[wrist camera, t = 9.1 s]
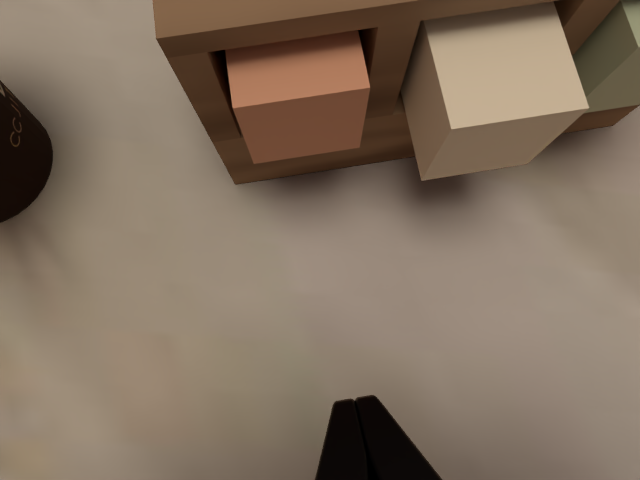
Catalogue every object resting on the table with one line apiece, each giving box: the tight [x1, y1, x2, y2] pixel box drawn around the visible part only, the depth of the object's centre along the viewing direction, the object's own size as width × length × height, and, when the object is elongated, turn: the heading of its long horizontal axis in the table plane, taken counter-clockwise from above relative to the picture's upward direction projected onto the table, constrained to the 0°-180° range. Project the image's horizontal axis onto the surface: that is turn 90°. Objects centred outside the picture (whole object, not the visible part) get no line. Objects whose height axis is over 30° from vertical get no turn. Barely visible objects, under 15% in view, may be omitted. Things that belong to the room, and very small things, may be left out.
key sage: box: [572, 0, 640, 113], centre depth 16 cm, size 6×4×4 cm, turn 9°
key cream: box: [400, 1, 589, 181], centre depth 15 cm, size 6×4×4 cm, turn 9°
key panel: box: [153, 0, 639, 184], centre depth 18 cm, size 8×19×11 cm, turn 99°
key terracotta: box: [225, 30, 370, 164], centre depth 16 cm, size 6×4×4 cm, turn 9°
